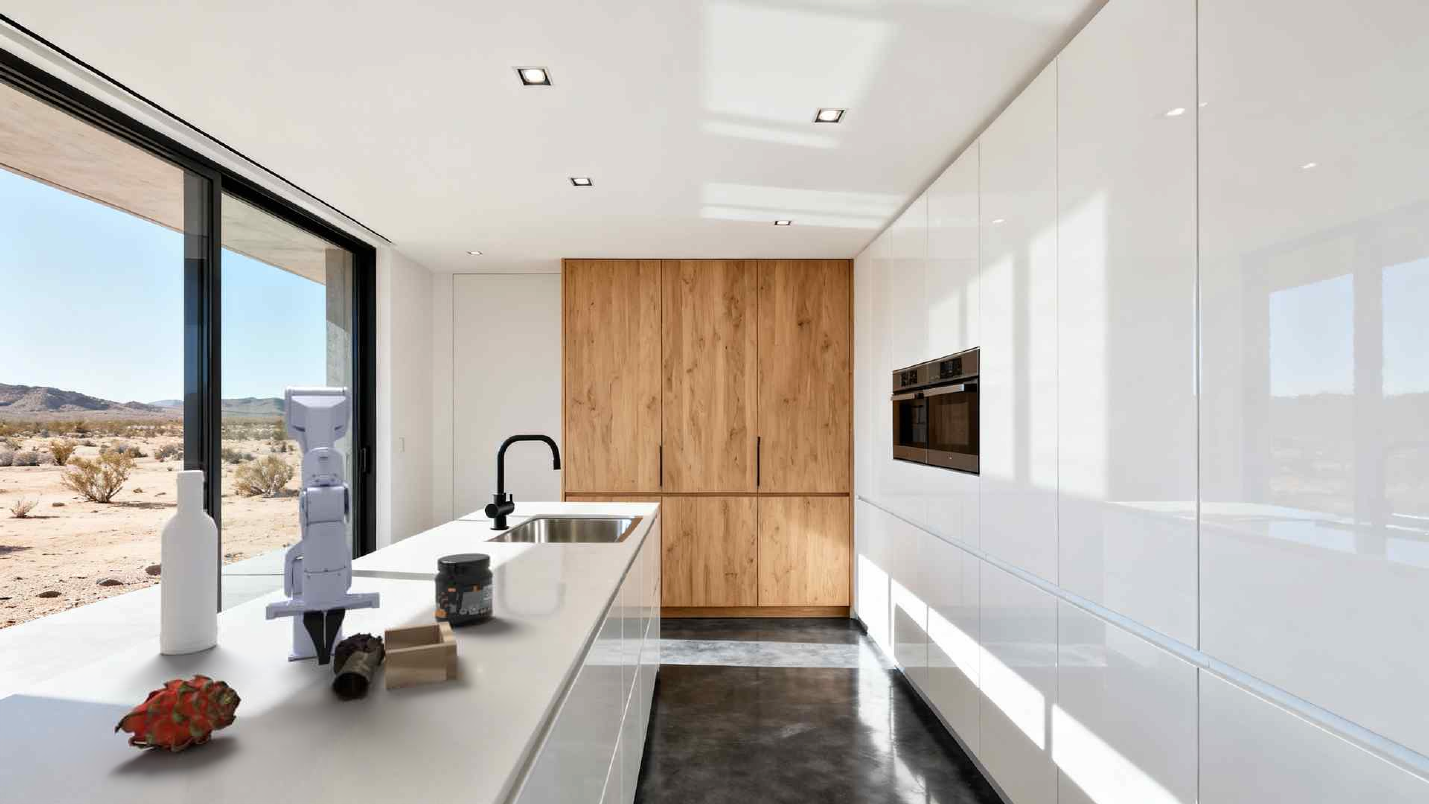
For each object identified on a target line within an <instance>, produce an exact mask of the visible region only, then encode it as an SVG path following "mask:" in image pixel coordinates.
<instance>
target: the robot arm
mask: <svg viewBox="0 0 1429 804" xmlns="http://www.w3.org/2000/svg"><path fill="white" fill-rule="evenodd" d="M351 394H352V393H351V390H350V389H349V388H348V387H347V386H342V387H320V386H319V387H318V386H317V387H305V386H304V387H302V386H301V387H300V386H299V387H298V386H291V385H288V386H287V388H285V389H284V423H285V427H284V428H285V432H286V434H287V435H286V436H287V438H289V439H292V440H294V441H296V442H298V444H299V447H300V449H301V453H302V458H301V462H300V467H301V471H300V472H301V474H300V475H301V491H299V495H298V497H299V498H298V520H299V526H300V532H301V535H300V536H301V537H300V538H301V539H299V540H298V541H297V542H295V543H294V544H293V545H290V547H288V548H287V550H286V552H285V554H284V556H285V557H284V564H283V565H284V567H283V578H284V579H283V580H284V581H283V583H284V584H283V589H284V590H283V592H284V593H283V594H284V596H285V597H287V598H288V599H289V598H292V600H286V601H278V602H271V603H270V602H269V603H267V604H266V606H265V620H266V621H269V620H276V619H279V618H287V617H288V618H289V617H292V622H293V623H292V646H291V648H290V651H289V653H288V656H287V659H288V660H297V659H305V658H313V657H317V659H318V666H325V665H330V664H331V657H332V655H335V654H334V652H335V647H336V646H337V645H338V644H339V642H340V641H341V640H343V641H344V640H346V639H347V636H346V635H343V622H344V619H345V617H346V611H352V610H361V609H369V608H370V609H380V608H381V607H380V605H381V604H380V601H381V599H380V598H381V595H380V594H381V593H380V592H366V593H365V592H364V593H363V592H362V593H348V591H349V590H350V589H351V587H352V582H353V567H352V566H353V565H352V564H353V563H352V558H351V548H350V547H349V544H348V538H347V537H348V534H347V533H348V531H347V530H348V527H347V526H348V525H347V524H349V523H350V520H351V519H350V518H351V514H352V500H351V499H352V497H351V491H350V488H349V484H348V480H345V479H346V478H345V469H344V459H343V456H342V454H341V453H340V452H339V451H337V450H336V449H335V442H337V441H338V440H340V439H342V438H345V437H346V436H347V432H348V430H349V425H350V420H351V414H352V396H351ZM344 519H346V523H345V520H344ZM301 557H302V558H301Z"/></svg>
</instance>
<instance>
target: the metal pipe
mask: <svg viewBox="0 0 1429 804" xmlns="http://www.w3.org/2000/svg"><path fill="white" fill-rule="evenodd" d="M383 640H384V639H383V637H382V636H381V635H377V637H375V636H373V635H372V633H371V632H368V633H367V634H366V633H361V632H358V633H356V634H353V635H351V636H350V635H349V636H348V637H346V640H344V641H343V640H341V641H340V642H339V644H338V645H337V646H336V647H335V652H334V654H333V655H334V656H333V664H332V665H333V666H332V671H333V673H334V675H335V677H334V679H333V680H332V683H331V688H330V691H331V692H332V695H333V696H334V697H335V698H336V699H338V700H339V701H343V702H350V700H351V701H358V700H357V699H360V700H362V699H363V698H365V697H366V696H367V695H368V693H369V691H370V689H371V684H372V683H373V678H374V675H375V672H376V669H377V668H378V667H379V665H380V666H381V664H382V663H383V662H384V661H385V656H386V651H385V642H383Z"/></svg>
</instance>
